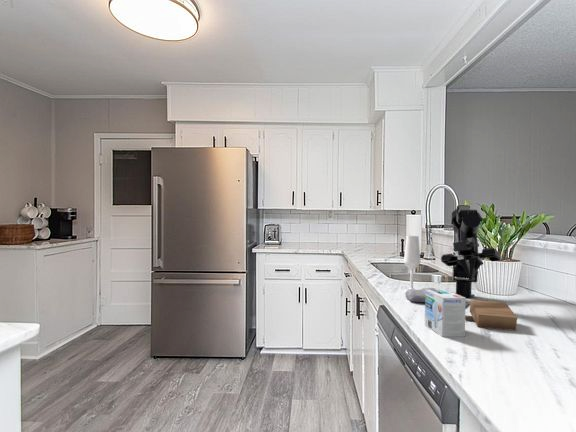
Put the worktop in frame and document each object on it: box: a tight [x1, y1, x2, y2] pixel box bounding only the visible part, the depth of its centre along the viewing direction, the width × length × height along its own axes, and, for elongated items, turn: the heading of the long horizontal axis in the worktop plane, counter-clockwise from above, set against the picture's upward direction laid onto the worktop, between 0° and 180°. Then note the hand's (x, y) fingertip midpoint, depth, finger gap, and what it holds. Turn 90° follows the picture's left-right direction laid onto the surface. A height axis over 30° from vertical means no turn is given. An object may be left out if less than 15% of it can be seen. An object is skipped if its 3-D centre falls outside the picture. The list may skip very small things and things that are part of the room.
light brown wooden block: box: [469, 299, 518, 331], centre depth 107 cm, size 4×10×10 cm
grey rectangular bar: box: [465, 314, 475, 322], centre depth 109 cm, size 2×14×1 cm, turn 75°
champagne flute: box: [403, 235, 421, 293], centre depth 149 cm, size 7×7×24 cm
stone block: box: [404, 287, 438, 303], centre depth 134 cm, size 12×5×10 cm
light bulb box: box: [424, 289, 467, 338], centre depth 100 cm, size 11×7×11 cm, turn 5°
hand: (470, 280), depth 123 cm, fingers closed
